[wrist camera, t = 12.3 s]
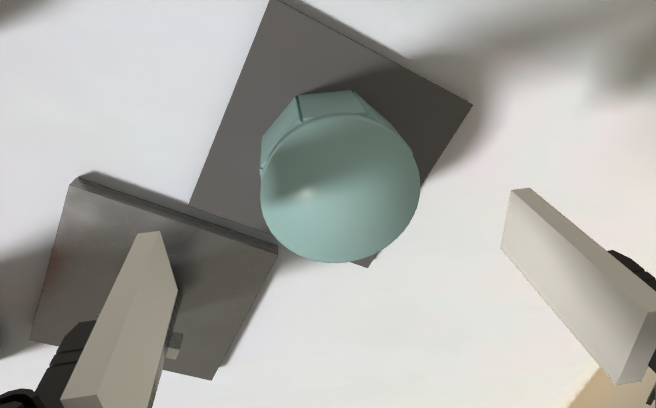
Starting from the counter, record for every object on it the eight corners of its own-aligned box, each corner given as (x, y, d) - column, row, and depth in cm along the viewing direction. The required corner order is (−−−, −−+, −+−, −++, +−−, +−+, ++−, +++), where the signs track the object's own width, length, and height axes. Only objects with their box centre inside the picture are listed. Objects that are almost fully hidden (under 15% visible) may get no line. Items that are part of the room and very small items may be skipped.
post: (37, 328, 28) (-71, 490, 19) (76, 177, 23) (-41, 299, 15) (213, 369, 32) (190, 520, 23) (277, 245, 27) (280, 376, 18)
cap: (253, 97, 22) (248, 128, 17) (394, 83, 22) (423, 111, 18) (272, 227, 26) (273, 279, 21) (392, 213, 26) (416, 261, 22)
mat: (190, 200, 25) (188, 205, 24) (271, -4, 20) (271, -3, 20) (366, 262, 28) (367, 268, 28) (468, 102, 24) (473, 105, 23)
